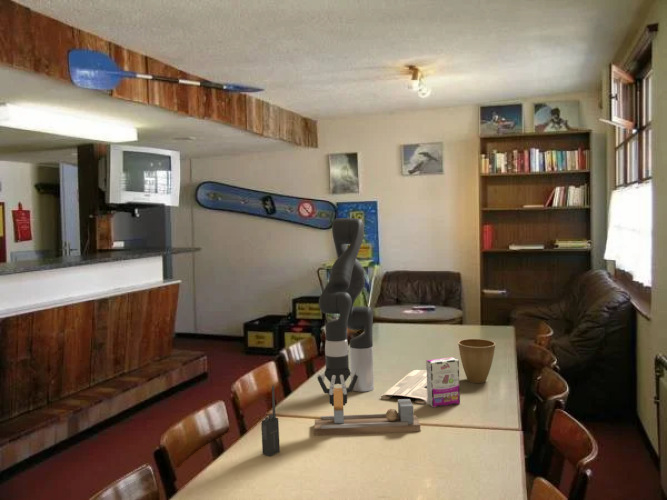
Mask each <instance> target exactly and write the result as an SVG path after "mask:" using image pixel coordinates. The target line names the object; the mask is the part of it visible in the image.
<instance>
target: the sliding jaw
mask: <svg viewBox="0 0 667 500" xmlns="http://www.w3.org/2000/svg"><path fill="white" fill-rule="evenodd" d="M333 394H334V406H333V416H334V424H344V415H345V414H344V406H343V389H342V387H334V389H333Z"/></svg>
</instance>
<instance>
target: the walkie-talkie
mask: <svg viewBox="0 0 667 500" xmlns="http://www.w3.org/2000/svg"><path fill="white" fill-rule="evenodd" d="M271 395H272V397H271V398H272V400H271V401H272V403H271V405H272V408H271V409H272V414H268V415H267V416H265V417H264V419H263V420H261V424H260V426H261V443H262V444H261V446H262V454H263V455H264V456H267V457H272V456H274V455H277V454H279V453H280V452H281V451H280V450H281V449H280V448H281V447H280V428H279V427H280V426H279V417H277V414H276V400H275V398H276V397H275V385H272V386H271Z"/></svg>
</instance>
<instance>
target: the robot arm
mask: <svg viewBox="0 0 667 500" xmlns="http://www.w3.org/2000/svg"><path fill="white" fill-rule="evenodd" d="M331 226H332V228H331V233H332V239H333V243H334V248H335V251H336V257H337V259H336V260H335V261H334V263H333V265H332V267H331V271H330V276H329V279H328V282H327V284H326V286H325V287H324V289H323V291H322V292H321V294H320V296H319V299H318V307H319V308H318V309H319V310H320V311H321V313H323V314H329V315H330V314H331V315H333V314H334V315H339V317H338V319H333V320H329V321H327V322H326V323H325V326H324V327H325V344H324V353H325V354H324V355H325V370H324V373H321V374H318V375H317V377H316V378H317V381H318V383H319V385H320V387H321V389H322V391H323V393H324V394H328V395H329V399H328V400H329V404H330V405H331V406H332V407H334V394H333V389H334V388H335V385H341V388H342V389H343V407H344V406H346V404H347V403H348V394H349V393H352V392H353V391H354V392H362V393H363V392H370V391H373V390H374V389H375V385H374V384H375V380H374V379H375V377H374V376H375V375H374V345H373V343H374V342H373V340H374V339H373V338H374V337H373V326H374V325H373V324H374V323H373V322H374V321H373V320H374V316H373V315H374V314H373V313H374V312H373V310H372V309H373V308H372V307H371V306H354V303H355V301H356V300H357V298H358V296H359V295H360V294H361V292H362V291H363V289H364V288H365V284H366V280H365V270H364V267H363V265H362V263H361V262H360V260H359V259H357V257H358V255H359V253H360V249H361V246H362V243H363V241H364V236H365V225H364V222H363V219H361V218H357V217H356V218H355V217H354V218H353V217H351V218H350V217H348V218H347V217H345V218H344V217H343V218H342V217H340V218H335V219H334V220H333V222H332V225H331ZM348 245H349V246H348ZM348 330H353V331H357V330H358V331H359V330H360V331H364V332H363V333H362V334H360V335H357V336H355V337H354V336H353V338H351V339H349V342H348ZM348 343H349V344H348ZM349 357H350V358H349ZM349 359H350V361H349ZM349 364H350V365H349ZM349 366H350V367H349ZM349 377H350V383H349V385H348V387H346V381H347V380H348V379H349ZM325 378H326V379H327V380H328V381H329V388H327V385H326V383H325V382H324V381H325Z"/></svg>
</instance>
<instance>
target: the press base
mask: <svg viewBox="0 0 667 500" xmlns="http://www.w3.org/2000/svg"><path fill="white" fill-rule="evenodd" d="M397 412H398V418H397V420H395V421H389V420H388V419H387V418H386V413H371V414H369V413H366V414H364V413H363V414H344V424H334V415H321V416H320V418H316V419H315V418H314V436H328V435H329V436H331V435H332V436H333V435H352V434H379V433H381V434H383V433H384V434H385V433H402V432H403V433H406V432H421V423H420V421H419V419H418V417H417V415H415V414H414V404H413V403H412V401H411V399H410V398H403V399H402V398H401V399H397Z"/></svg>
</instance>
